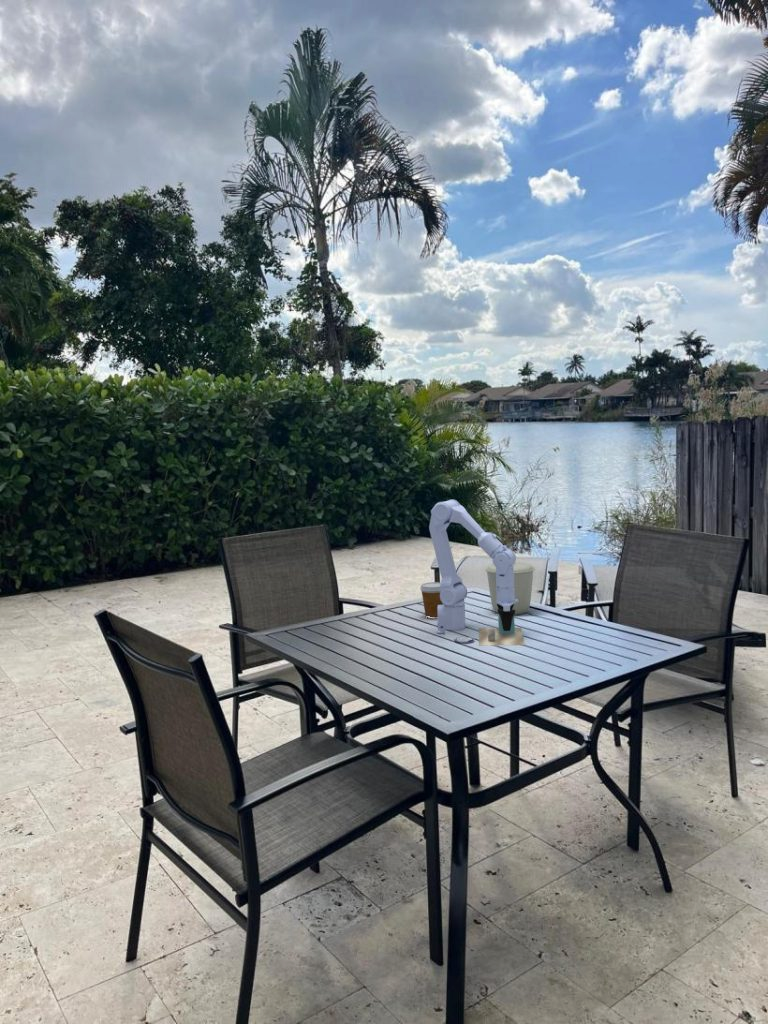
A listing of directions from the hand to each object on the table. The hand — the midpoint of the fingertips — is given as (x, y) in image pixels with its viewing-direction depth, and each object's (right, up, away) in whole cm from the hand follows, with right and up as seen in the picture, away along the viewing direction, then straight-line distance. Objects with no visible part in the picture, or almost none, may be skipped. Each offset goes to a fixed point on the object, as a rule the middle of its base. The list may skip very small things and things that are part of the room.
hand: (506, 627), depth 237 cm
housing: (0, -1, 0) cm, 1 cm away
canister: (+7, +1, +32) cm, 32 cm away
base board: (-2, -3, -4) cm, 6 cm away
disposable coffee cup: (-21, -1, +29) cm, 36 cm away
